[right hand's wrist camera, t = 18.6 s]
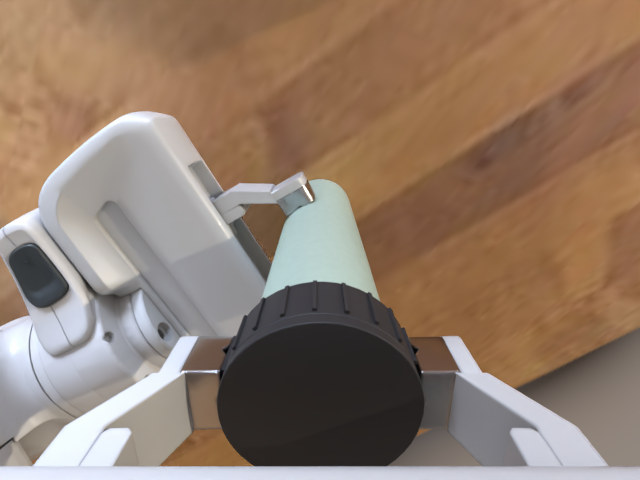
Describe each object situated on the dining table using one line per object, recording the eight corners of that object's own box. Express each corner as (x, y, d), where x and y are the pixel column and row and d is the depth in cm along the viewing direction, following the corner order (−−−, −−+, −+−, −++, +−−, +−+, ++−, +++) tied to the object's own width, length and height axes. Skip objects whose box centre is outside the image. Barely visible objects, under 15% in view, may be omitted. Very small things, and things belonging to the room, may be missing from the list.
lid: (330, 449, 12) (332, 514, 10) (197, 367, 11) (171, 423, 9) (445, 348, 10) (472, 400, 9) (306, 241, 9) (303, 275, 7)
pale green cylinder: (288, 180, 25) (227, 320, 9) (349, 177, 25) (405, 313, 9) (292, 237, 27) (248, 451, 10) (350, 235, 27) (400, 446, 10)
